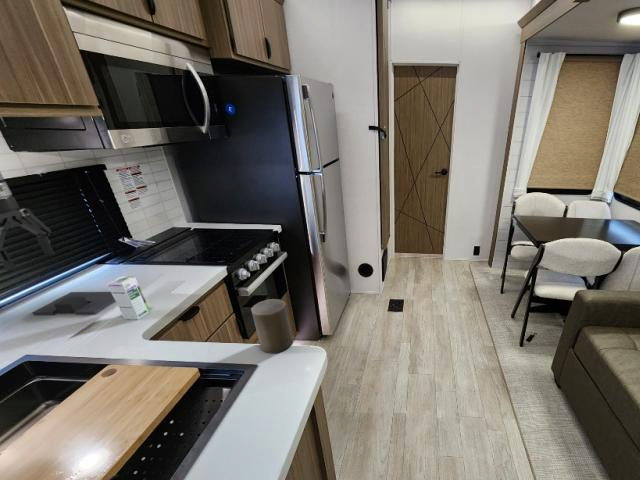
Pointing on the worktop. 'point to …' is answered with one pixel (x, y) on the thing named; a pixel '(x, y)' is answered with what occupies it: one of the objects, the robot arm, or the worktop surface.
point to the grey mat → (94, 306)
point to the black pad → (70, 305)
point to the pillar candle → (272, 325)
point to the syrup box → (129, 297)
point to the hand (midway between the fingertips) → (31, 261)
